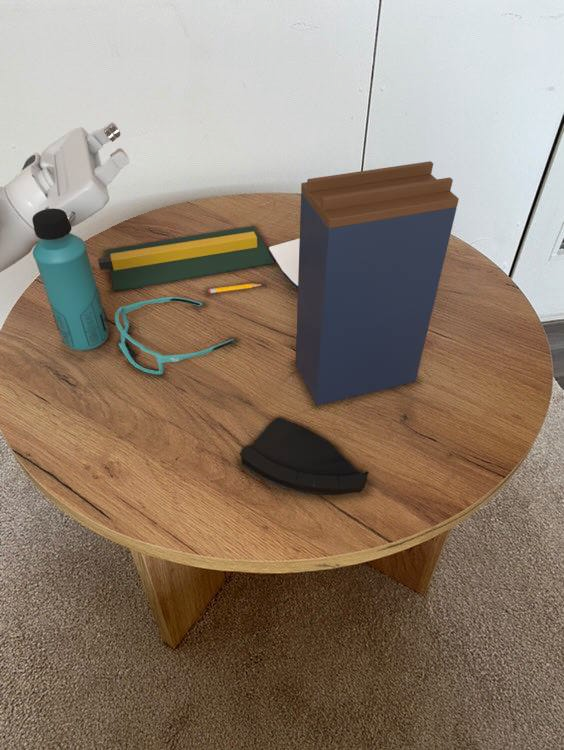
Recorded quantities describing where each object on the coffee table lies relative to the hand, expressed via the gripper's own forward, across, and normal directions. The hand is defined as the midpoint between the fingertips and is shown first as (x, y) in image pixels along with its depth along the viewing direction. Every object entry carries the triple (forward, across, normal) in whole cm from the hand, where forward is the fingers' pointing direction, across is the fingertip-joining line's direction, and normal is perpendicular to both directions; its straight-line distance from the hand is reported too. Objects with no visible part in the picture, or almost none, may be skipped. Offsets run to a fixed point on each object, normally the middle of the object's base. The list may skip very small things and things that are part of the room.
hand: (121, 140), depth 81 cm
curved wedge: (-1, -46, +24) cm, 51 cm away
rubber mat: (-4, 0, +22) cm, 22 cm away
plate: (+16, -12, +34) cm, 39 cm away
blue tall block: (+9, -34, +29) cm, 46 cm away
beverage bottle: (-19, -17, +13) cm, 29 cm away
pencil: (0, -10, +25) cm, 27 cm away
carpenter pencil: (-4, 0, +21) cm, 21 cm away
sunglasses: (-10, -20, +19) cm, 29 cm away
